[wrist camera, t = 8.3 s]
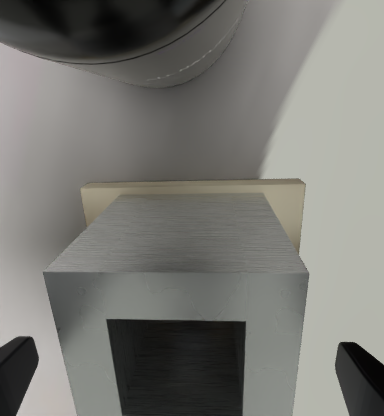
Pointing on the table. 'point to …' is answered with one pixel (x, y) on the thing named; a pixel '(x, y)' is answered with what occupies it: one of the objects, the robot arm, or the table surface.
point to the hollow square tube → (181, 308)
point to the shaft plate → (272, 189)
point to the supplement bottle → (124, 35)
